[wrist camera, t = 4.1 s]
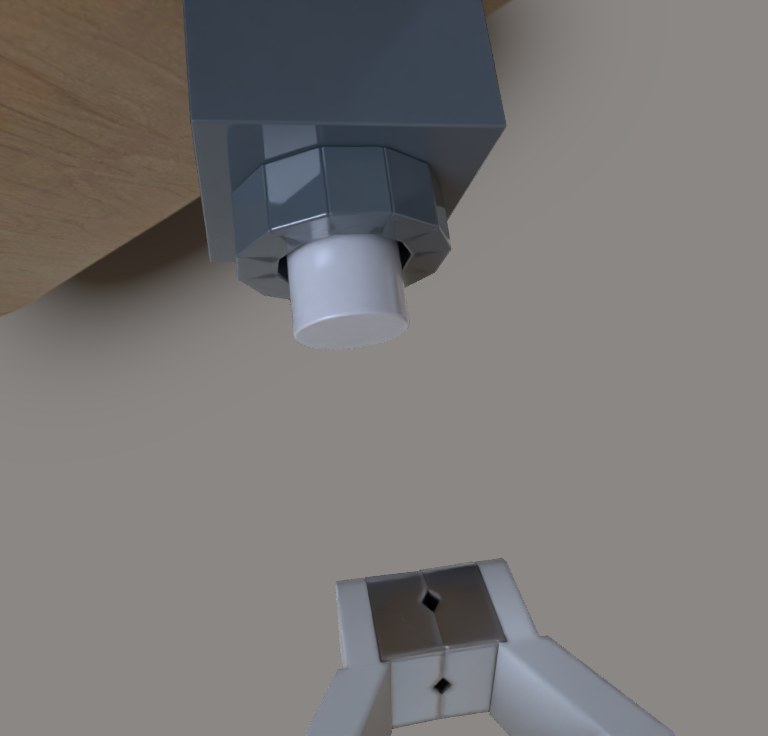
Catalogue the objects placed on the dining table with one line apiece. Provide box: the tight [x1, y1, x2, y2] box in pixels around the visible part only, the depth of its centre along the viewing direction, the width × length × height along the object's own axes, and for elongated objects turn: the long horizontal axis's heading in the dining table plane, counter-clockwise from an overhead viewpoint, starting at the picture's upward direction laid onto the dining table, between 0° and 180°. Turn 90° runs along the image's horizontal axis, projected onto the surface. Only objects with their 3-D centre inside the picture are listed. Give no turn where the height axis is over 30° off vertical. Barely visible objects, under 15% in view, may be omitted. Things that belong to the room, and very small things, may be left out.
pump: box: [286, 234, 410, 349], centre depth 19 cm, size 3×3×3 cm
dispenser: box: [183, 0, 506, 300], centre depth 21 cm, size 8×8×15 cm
